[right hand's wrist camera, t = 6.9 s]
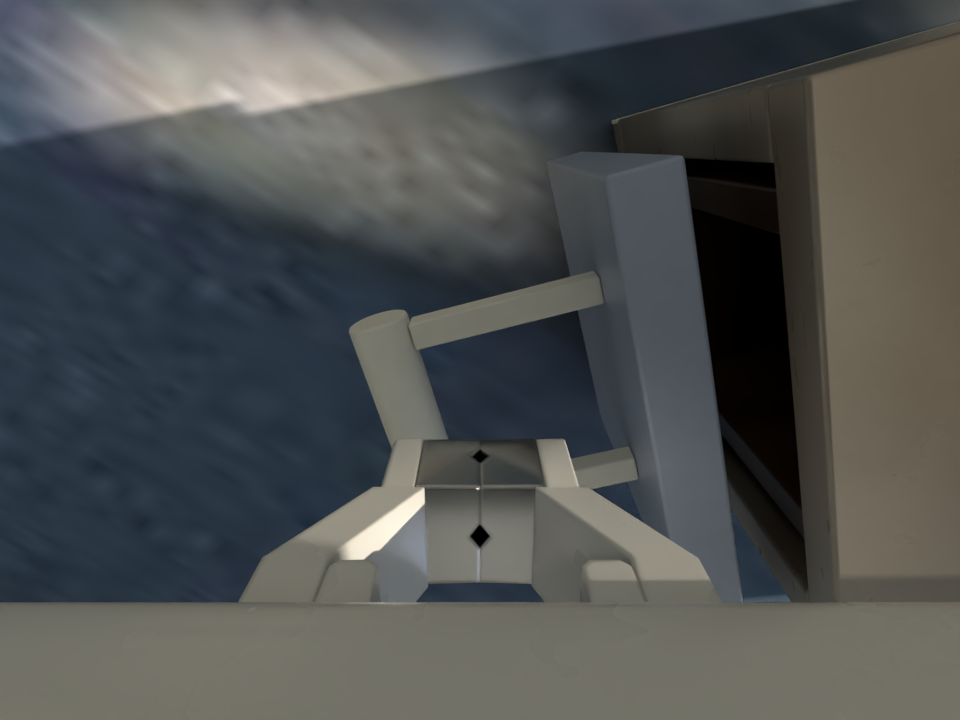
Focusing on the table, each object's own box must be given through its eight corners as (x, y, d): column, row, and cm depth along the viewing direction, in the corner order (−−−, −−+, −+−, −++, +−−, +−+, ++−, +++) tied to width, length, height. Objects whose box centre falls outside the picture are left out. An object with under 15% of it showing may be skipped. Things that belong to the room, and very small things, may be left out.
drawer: (458, 447, 21) (432, 679, 12) (381, 207, 18) (266, 268, 9) (1221, 275, 18) (1966, 405, 9) (1283, -47, 15) (2514, -350, 6)
